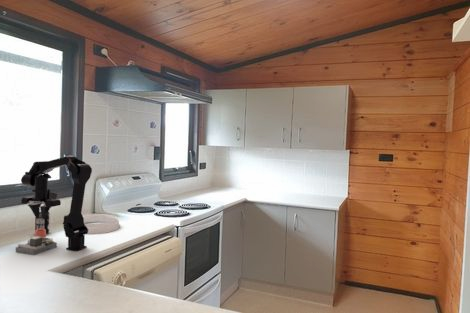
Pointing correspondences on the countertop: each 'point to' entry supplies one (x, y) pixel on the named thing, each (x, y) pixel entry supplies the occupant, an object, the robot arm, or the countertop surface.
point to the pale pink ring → (102, 227)
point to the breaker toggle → (35, 241)
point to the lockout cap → (40, 232)
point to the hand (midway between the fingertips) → (40, 219)
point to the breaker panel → (46, 245)
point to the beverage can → (42, 222)
